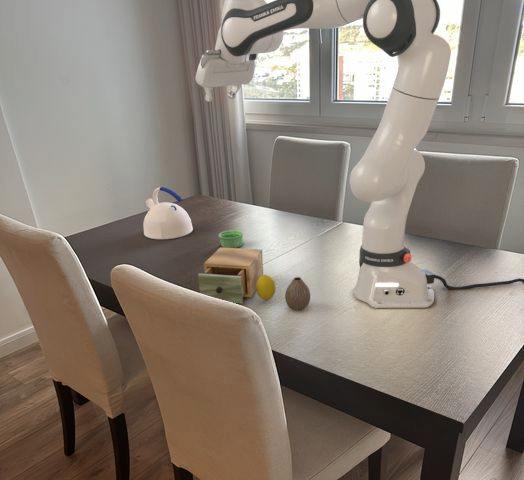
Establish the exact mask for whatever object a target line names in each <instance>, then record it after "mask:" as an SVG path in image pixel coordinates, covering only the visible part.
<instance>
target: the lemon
mask: <svg viewBox="0 0 524 480" xmlns="http://www.w3.org/2000/svg"><path fill="white" fill-rule="evenodd" d="M255 292H256V294H257V296H258V297H259V298H260V299H262V300H264V301H266V302H267V301H269V300H270V299H272V298H273V297H274V296H275V293H276V283H275V280H274V279H273V277H271V276H270V275H268V274H263V276H261V277H260V278H259V279H258V281H257V284H256V291H255Z"/></svg>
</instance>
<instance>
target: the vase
mask: <svg viewBox="0 0 524 480" xmlns="http://www.w3.org/2000/svg"><path fill="white" fill-rule="evenodd" d="M284 299H285V303H286V305H287V307H288V308H289V309H291V310H292V311H296V312H300V311H301V312H302V311H303V310H305V309H306V308H308V306H309V304H310V301H311V291H310V288H309V286H308V285H307V284H306V282H305V281H304V279H303V278H302V277H299V276H296V277H293V278H292V280H291V282H290V283H289V285H288V286H287V287H286V289H285V294H284Z"/></svg>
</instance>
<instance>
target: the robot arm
mask: <svg viewBox="0 0 524 480" xmlns="http://www.w3.org/2000/svg"><path fill="white" fill-rule="evenodd" d="M440 18H441V8H440V5H439V2H438V0H273V1H270V2H267V1H266V0H224V2H223V6H222V11H221V23H220V27H219V29H218V32H217V37H216V42H215V47H214V49H207V50H206V52H204V53H203V54H202V55H201V58H200V60H199V63H198V65H197V70H196V73H195V81H196V82H195V83H197V84H198V85H199V86H200V87H202V88H204V93H205V97H204V100H205V101H206V102H208V103H209V102H213V100H214V94H212V91H213V90H214V88H216V87H217V88H218V87H219V88H220V87H228V86H229V87H230V86H232V87H231V89H230V90H228V94H227V97H228V98H229V99H230V100H235V99H236V96H237V94H238V92H239V91H240V90H241V87H242V85H249V84H250V83H251V82H252V80H253V78H254V74H255V71H256V65H257V62H256V61H258V58H259V54H268V53H271V52H275V51H277V50H278V49H279V48H280V46H281V44H282V42H283V39H284V35H285V31H289V30H296V29H309V30H310V29H311V30H312V29H313V30H314V29H315V30H330V29H337V28H342V27H346V26H348V25H352V24H354V23H356V22H359V21H362V27H363V31H364V34H365V36H366V38H367V39H368V40H369V42H371V43H372V44H373V45H375V46H376V47H377V48H379V49H380V50H382V51H383V52H384V53H386V54H387V55H388V56H389V57H391V58H394V57H396V58H397V69H396V72H395V76H394V79H393V82H392V86H391V89H390V92H389V95H388V98H387V102H386V105H385V108H384V112H383V115H382V117H381V119H380V122H379V125H378V127H377V129H376V131H375V133H374V134H373V136H372V138H371V141H370V142H369V144H368V146H367V148H366V150H365V151H364V154H363V155H362V157H361V158H360V160H359V161H358V162H357V163H356V165H355V166H353V168H352V170H351V171H350V173H349V179H348V182H349V183H348V184H349V187H350V190H351V191H350V192H351V193H352V194H353V195H354V197H355V198H356V199H358V200H359V201H362V202H364V203H366V202H367V203H370V205H369V208H368V210H367V211H366V213H365V215H364V216H363V217H364V218H363V221H362V238H361V245H360V248H359V253H358V254H359V255H358V256H359V257H358V263H359V269H358V270H359V271H358V274H357V275H358V276H357V280H356V283H355V287H354V289H353V296H354V297H355V298H356V299H358V300H359V301H361V302H363V303H366V304H367V305H369V306H370V307H372V308H374V309H386V308H387V309H393V308H394V309H408V308H409V309H411V308H412V309H418V308H419V309H422V308H423V309H424V308H429V307H431V306H432V305H433V304H434V302H435V290H434V289H433V287H431V286H430V285H432V284H434V283H435V279H437V280H439V281H440V282H442V285H443V287H444V288H445V289H448V290H451V291H454V290H458V291H459V290H469V289H474V288H484V287H485V288H486V287H494V286H495V287H496V286H502V285H503V286H504V285H511V284H515V283H523V284H524V278H515V279H510V280H505V281H494V282H484V283H473V284H468V285H464V286H451V285H449V284H448V283H447V281H446V279H445V278H444V277H442V276H441V275H438V274H435V273H433V272H432V271H430V270H429V269H428V268H423V269H422V268H420V267H419V266H417V265H416V264H415V263H413V261H412V254H411V250H410V247H409V246H407V247H406V246H405V245H404V243H405V233H406V225H407V218H408V214H409V211H410V209H411V204H412V202H413V198H414V196H415V192H416V189H417V187H418V185H419V182H420V181H421V179H422V177H423V175H424V173H425V169H426V163H425V158H424V156H423V155H422V153H421V152H420V151H419V150H418V149H416V148H418V145H419V143H420V142H421V141H422V140H423V138H424V137H425V136H426V134H427V133H428V131H429V127H430V125H431V122H432V120H433V117H434V114H435V111H436V108H437V106H438V103H439V100H440V97H441V94H442V92H443V89H444V86H445V82H446V80H447V79H446V78H447V74H448V70H449V65H450V62H451V61H450V60H451V54H452V51H451V50H452V49H451V46H450V44H449V42H448V41H447V40H446V39H445V38H443V37H441V35H438V34H435V32H436V30H437V28H438V26H439V24H440V20H441V19H440Z"/></svg>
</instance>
